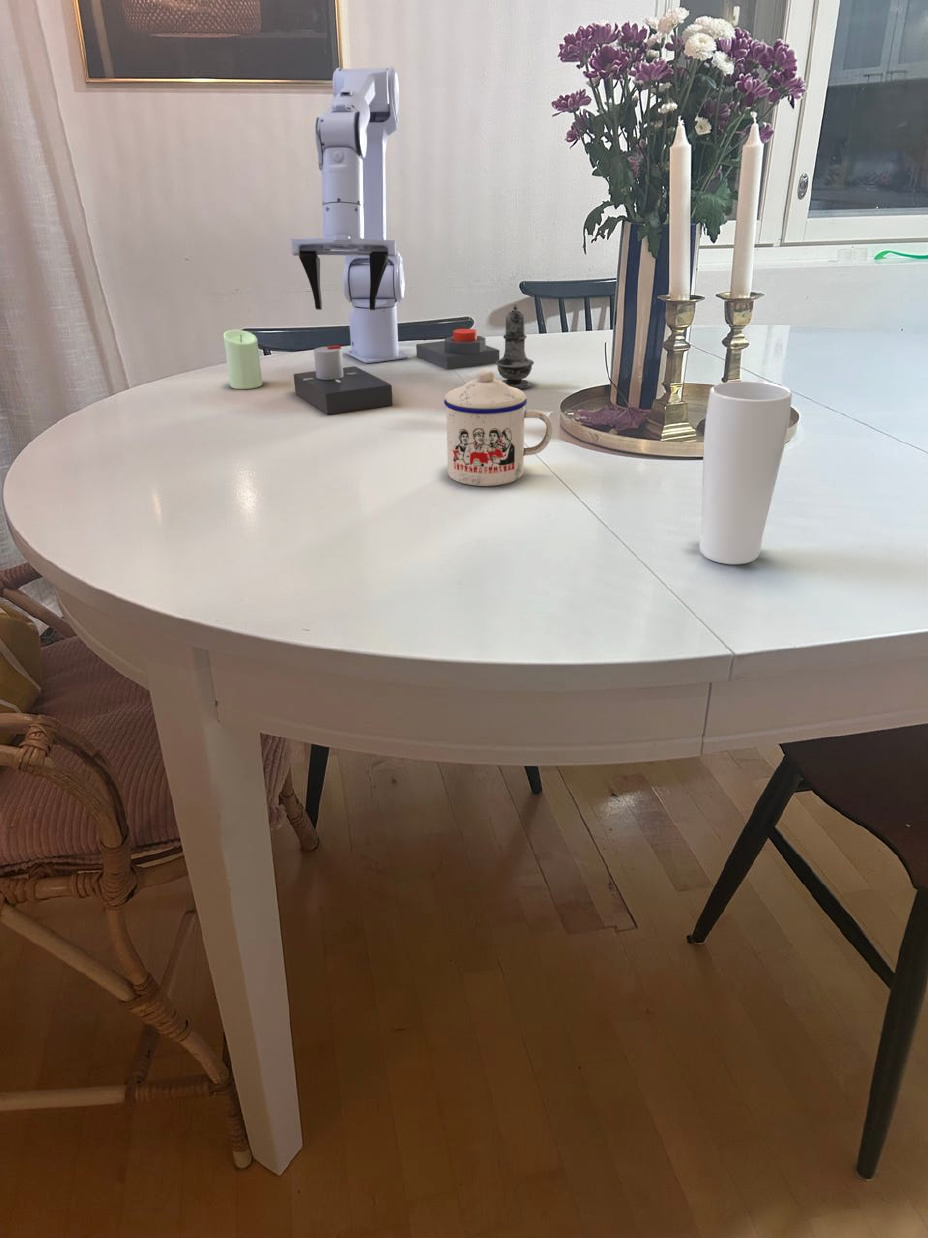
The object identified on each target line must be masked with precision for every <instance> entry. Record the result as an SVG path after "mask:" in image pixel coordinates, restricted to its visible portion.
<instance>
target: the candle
mask: <svg viewBox="0 0 928 1238" xmlns="http://www.w3.org/2000/svg"><path fill="white" fill-rule="evenodd" d="M222 335H223V344H224V350H225V351H224V352H225V359H226V366H227V373H228V381H229V387H231V389H234V390H252V389H256V388H260V387H261V386H262V385H263V378H262V367H261V361H260V359H261V358H260V351H259V343H258V338H257V335H255V334H254V333H252V332H250V331H247V330H241V329H229V330H226V331H224V333H223V334H222Z"/></svg>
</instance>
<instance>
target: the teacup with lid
mask: <svg viewBox="0 0 928 1238" xmlns="http://www.w3.org/2000/svg"><path fill="white" fill-rule="evenodd" d="M495 375H496V374H495V372H494V371H493V370H492V369H480V370H478V371H477V372H476V374H475V379H472V380H468V381H467V382H466V383H464V384H463V385H462V386H459V387H455V388H453V389H450V390H449V391H448V392H447V393H446V394H445V396H444V399H443V404H444V406H445V407H446V409H445V411H446V412H445V413H446V453H447V454H446V455H447V456H446V457H447V474H448V476H449V477H450V478H451V479H452V480H454V482H455V481H456V482H457V483H460V484H464V485H469V486H475V487H476V486H478V487H494V486H502V485H506V484H511V483H512V482H515V481H517V480H519V479H521V477H522V476H523V474H524V462H525V461H524V459H525V458H524V457H525V456H532V455H537V454H539V453H541V452H542V451H544V450H545V449H546V448H547V446H548V445H549V443H550V442H551V439H552V436H553V429H554V428H553V427H554V426H553V422H552V420H551V418H550V417H549V416H548V415H547V414H546V413H545V412H543V411H541V410H535V409H529V410H528V409H526V410H525V406H526V405H527V403H528V400H527V396H526V393H524V391H523V390H522V389H521V390H519V389H517V388H514V387H511V386H508V385H507V384H505V383H504V382H502V381H503V380H500V379H496V378H495ZM531 418H532V419H539V420H541V421H542V422H543V423H544V424H545V426H546V431H545V434H544V435H543V438H542V440H541V441H540V442H539V443H538V444H536V445H534V446H530V447H525V419H531Z"/></svg>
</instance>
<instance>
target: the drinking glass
mask: <svg viewBox="0 0 928 1238" xmlns="http://www.w3.org/2000/svg"><path fill="white" fill-rule="evenodd" d="M792 397H793V393H792V391H791V390H790V389H789V388H786V387H784V386H782V385H778V384H774V383H769V382H763V381H762V382H761V381H745V380H744V381H743V380H740V381H738V380H737V381H725V382H721V383H718V384H715V385H713V386H711V387H710V389H709V394H708V400H707V404H706V405H707V406H706V413H705V419H704V420H705V421H704V430H703V431H704V432H703V447H702V448H703V452H702V496H701V522H700V523H701V525H700V537H699V551H700V553H701V554H702V555H703V556H704V557H705V558H706V559H708V560H710V561H713V562H715V563H719V564H722V565H723V564H724V565H745V564H749V563H752V562H753V561H755V560H756V559H757V558H758V557H759V555H760V553H761V549H762V543H763V536H764V531H765V527H766V523H767V519H768V515H769V511H770V507H771V502H772V499H773V494H774V491H775V486H776V482H777V478H778V475H779V471H780V467H781V462H782V458H783V454H784V449H785V446H786V440H787V436H788V431H789V425H790V416H791V410H792V409H791V407H792V399H793V398H792Z"/></svg>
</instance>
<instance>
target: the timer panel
mask: <svg viewBox="0 0 928 1238" xmlns="http://www.w3.org/2000/svg"><path fill="white" fill-rule="evenodd" d="M343 375H344V376H343V377H342V378H340V379H334V380H321V379H318V378H317V377H316V370H314V371H306V372H298V373H293V382H294V392H295V395H297V396H298V397H300V398H302V399H303V400H304V401H306V402H308V403H309V404H310V405H312V406H314V407H315V408H317V409H318V410H320V411H321V412H323V413H324V414H325V415H328V416H329V415H337V414H343V413H349V412H357V411H364V410H370V409H377V408H385V407H390V406H393V405H394V404H393V403H394V402H393V385H392V384H391V383H389V382H387V381H385V380H384V379H381V378H379V377H377V376H375V375H373V374H372V373H369V372H367V371H365V370H363V369H361V367H358V366H356V365H352V366H346V367H343Z"/></svg>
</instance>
